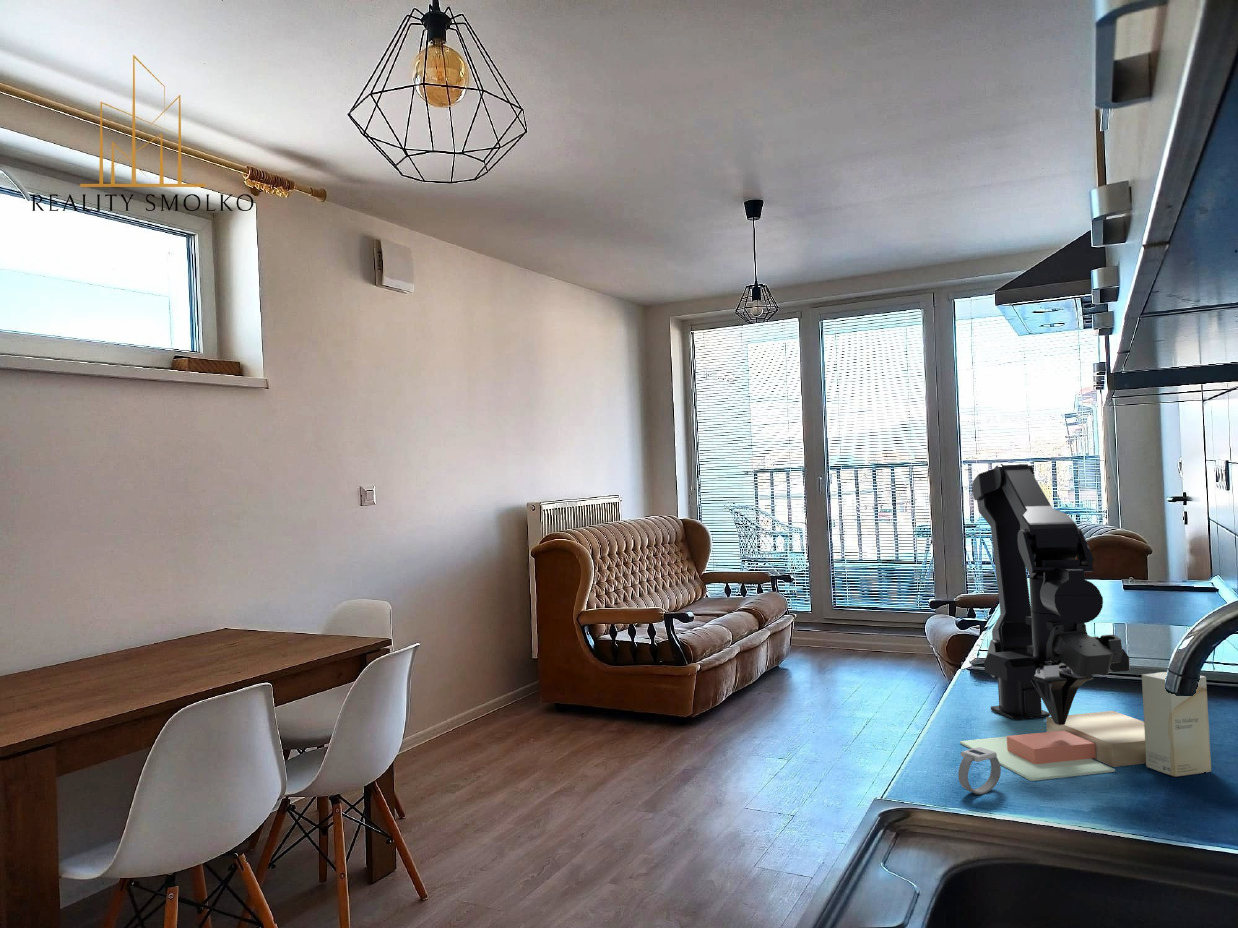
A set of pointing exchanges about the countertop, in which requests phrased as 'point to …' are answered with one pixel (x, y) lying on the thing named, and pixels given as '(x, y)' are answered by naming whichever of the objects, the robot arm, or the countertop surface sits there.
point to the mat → (1037, 770)
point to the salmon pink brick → (1051, 747)
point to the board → (1108, 736)
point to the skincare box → (1175, 728)
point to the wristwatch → (978, 756)
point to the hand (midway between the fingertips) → (1059, 724)
